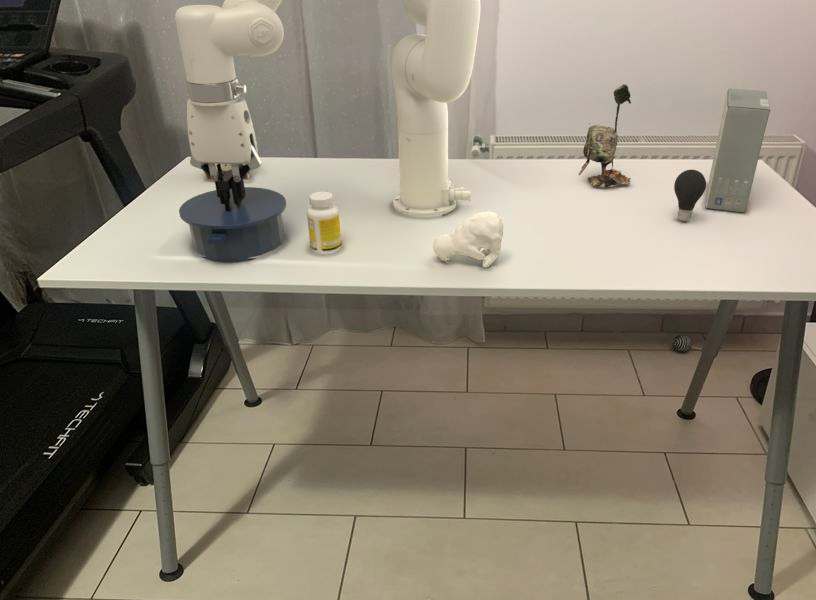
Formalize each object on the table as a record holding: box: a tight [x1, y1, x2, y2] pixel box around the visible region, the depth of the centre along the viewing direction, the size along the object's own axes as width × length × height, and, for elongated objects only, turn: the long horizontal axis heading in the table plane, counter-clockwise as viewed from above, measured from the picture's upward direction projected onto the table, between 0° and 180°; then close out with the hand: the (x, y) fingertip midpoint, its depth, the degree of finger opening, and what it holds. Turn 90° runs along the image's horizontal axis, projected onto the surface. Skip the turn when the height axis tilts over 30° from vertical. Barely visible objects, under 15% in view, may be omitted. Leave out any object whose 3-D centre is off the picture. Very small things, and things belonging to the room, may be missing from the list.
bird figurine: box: [577, 83, 632, 188], centre depth 148 cm, size 8×11×20 cm
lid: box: [178, 170, 287, 229], centre depth 123 cm, size 18×18×6 cm
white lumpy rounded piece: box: [432, 211, 504, 269], centre depth 120 cm, size 6×8×12 cm
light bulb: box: [673, 169, 707, 223], centre depth 133 cm, size 6×6×10 cm
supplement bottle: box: [306, 191, 342, 254], centre depth 124 cm, size 5×5×10 cm
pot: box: [188, 213, 286, 263], centre depth 126 cm, size 16×21×6 cm
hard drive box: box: [705, 88, 771, 213], centre depth 141 cm, size 16×8×20 cm, turn 162°
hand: (232, 200), depth 124 cm, fingers closed on lid
